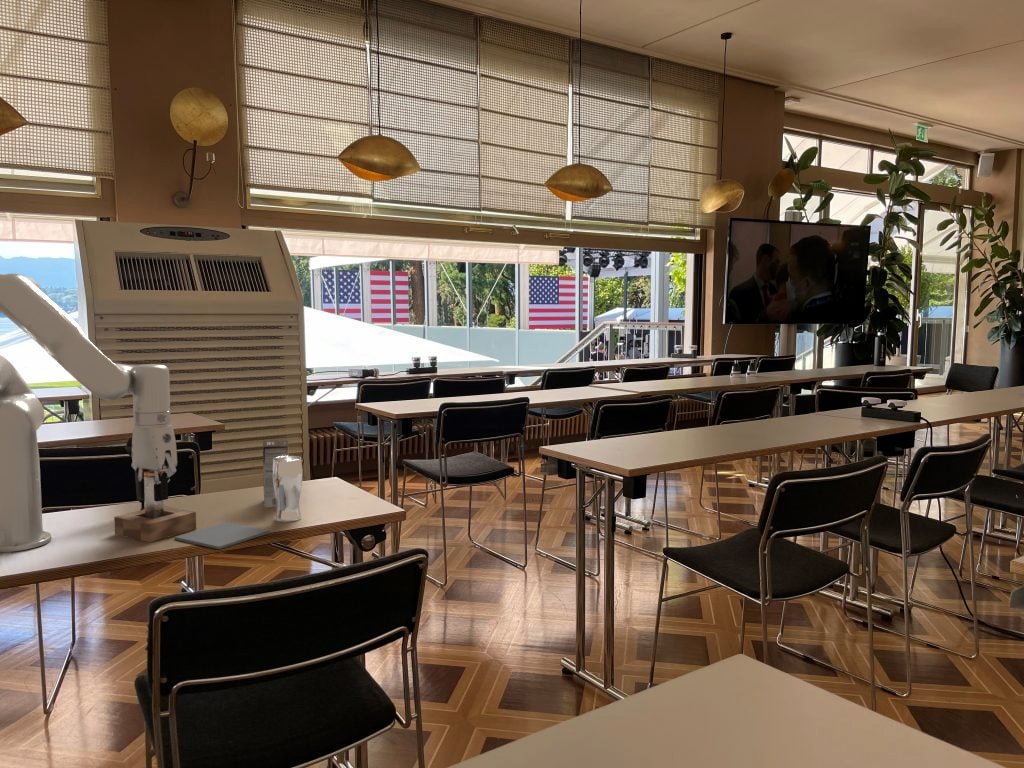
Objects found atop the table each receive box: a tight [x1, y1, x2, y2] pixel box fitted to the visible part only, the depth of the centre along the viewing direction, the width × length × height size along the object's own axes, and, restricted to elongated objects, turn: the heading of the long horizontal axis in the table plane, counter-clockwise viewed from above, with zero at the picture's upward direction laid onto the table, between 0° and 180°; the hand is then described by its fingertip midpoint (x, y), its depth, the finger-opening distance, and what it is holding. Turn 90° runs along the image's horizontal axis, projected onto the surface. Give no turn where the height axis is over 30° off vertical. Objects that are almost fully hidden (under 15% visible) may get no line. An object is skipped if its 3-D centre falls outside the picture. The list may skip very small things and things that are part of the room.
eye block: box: [113, 505, 197, 543], centre depth 172 cm, size 12×12×4 cm
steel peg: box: [144, 470, 165, 519], centre depth 171 cm, size 4×4×12 cm
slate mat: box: [174, 521, 270, 550], centre depth 169 cm, size 14×14×1 cm
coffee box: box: [262, 439, 290, 509], centre depth 199 cm, size 9×6×16 cm
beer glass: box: [273, 455, 303, 523], centre depth 183 cm, size 7×7×15 cm
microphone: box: [124, 436, 147, 511], centre depth 187 cm, size 7×7×20 cm
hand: (154, 498), depth 171 cm, fingers closed on steel peg, 4 cm apart
